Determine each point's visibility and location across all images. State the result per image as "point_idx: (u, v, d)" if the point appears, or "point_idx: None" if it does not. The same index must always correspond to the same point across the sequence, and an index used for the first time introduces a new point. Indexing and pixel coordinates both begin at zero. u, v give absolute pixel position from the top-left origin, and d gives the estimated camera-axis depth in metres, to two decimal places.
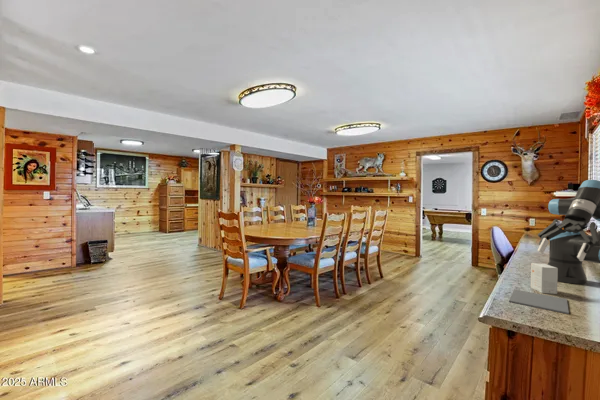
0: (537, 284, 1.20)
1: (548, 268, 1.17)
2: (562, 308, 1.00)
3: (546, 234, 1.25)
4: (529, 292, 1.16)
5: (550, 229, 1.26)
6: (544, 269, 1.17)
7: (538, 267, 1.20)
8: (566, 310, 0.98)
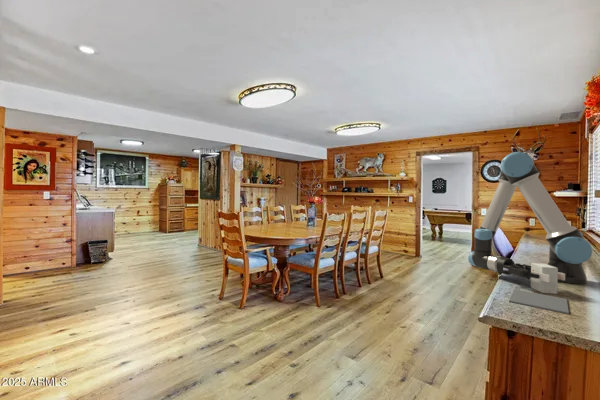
0: (537, 284, 1.20)
1: (548, 268, 1.17)
2: (562, 308, 1.00)
3: None
4: (529, 292, 1.16)
5: None
6: (544, 269, 1.17)
7: (538, 267, 1.20)
8: (566, 310, 0.98)
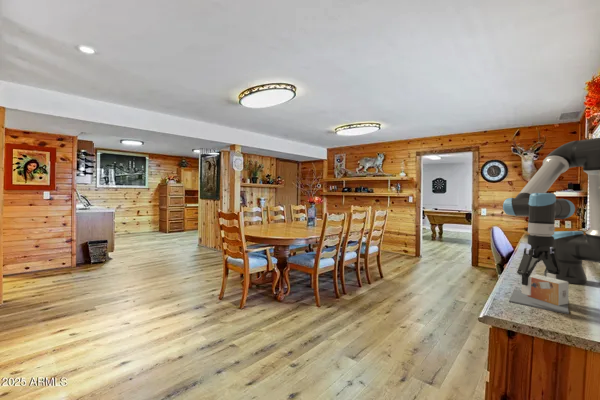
0: None
1: None
2: (562, 308, 1.00)
3: (530, 271, 1.05)
4: None
5: None
6: None
7: None
8: (566, 310, 0.98)
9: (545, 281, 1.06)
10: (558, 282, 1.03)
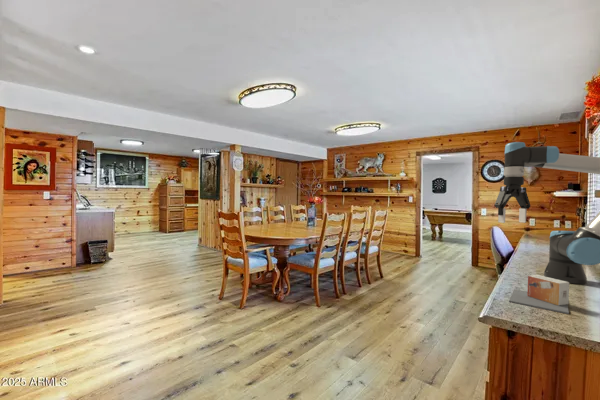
0: None
1: None
2: (562, 308, 1.00)
3: (504, 204, 1.32)
4: None
5: None
6: None
7: None
8: (566, 310, 0.98)
9: (546, 281, 1.06)
10: (559, 282, 1.03)
